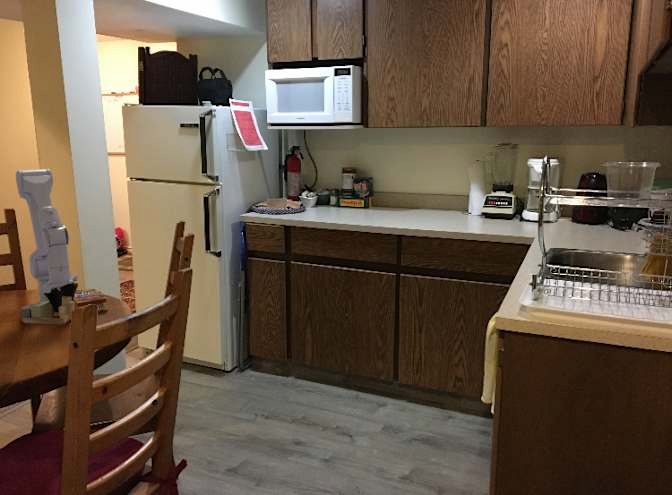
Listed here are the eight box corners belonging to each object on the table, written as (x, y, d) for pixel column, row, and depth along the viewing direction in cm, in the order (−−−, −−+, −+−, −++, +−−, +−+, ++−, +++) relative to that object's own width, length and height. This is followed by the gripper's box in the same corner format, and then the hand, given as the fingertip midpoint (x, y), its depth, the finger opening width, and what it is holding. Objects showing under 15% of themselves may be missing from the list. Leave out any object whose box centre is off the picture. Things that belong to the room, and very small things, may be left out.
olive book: (43, 316, 177) (41, 301, 176) (52, 317, 176) (50, 301, 175) (32, 322, 172) (30, 305, 171) (41, 322, 171) (39, 306, 170)
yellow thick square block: (64, 311, 181) (62, 296, 180) (73, 311, 181) (71, 296, 180) (54, 316, 177) (52, 300, 176) (63, 316, 176) (61, 301, 175)
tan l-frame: (38, 315, 178) (36, 300, 177) (76, 317, 176) (74, 301, 175) (23, 322, 171) (21, 306, 170) (62, 324, 169) (60, 307, 168)
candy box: (76, 301, 177) (68, 291, 189) (77, 315, 177) (69, 304, 190) (106, 296, 181) (96, 287, 194) (108, 309, 182) (98, 299, 195)
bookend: (32, 316, 177) (31, 303, 177) (41, 316, 177) (40, 303, 176) (21, 321, 172) (20, 308, 172) (30, 321, 172) (29, 308, 171)
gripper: (55, 272, 168) (60, 317, 171) (84, 261, 182) (88, 302, 185) (33, 271, 169) (39, 316, 172) (64, 261, 183) (68, 302, 186)
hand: (63, 309), depth 179 cm, fingers closed on yellow thick square block, 5 cm apart
